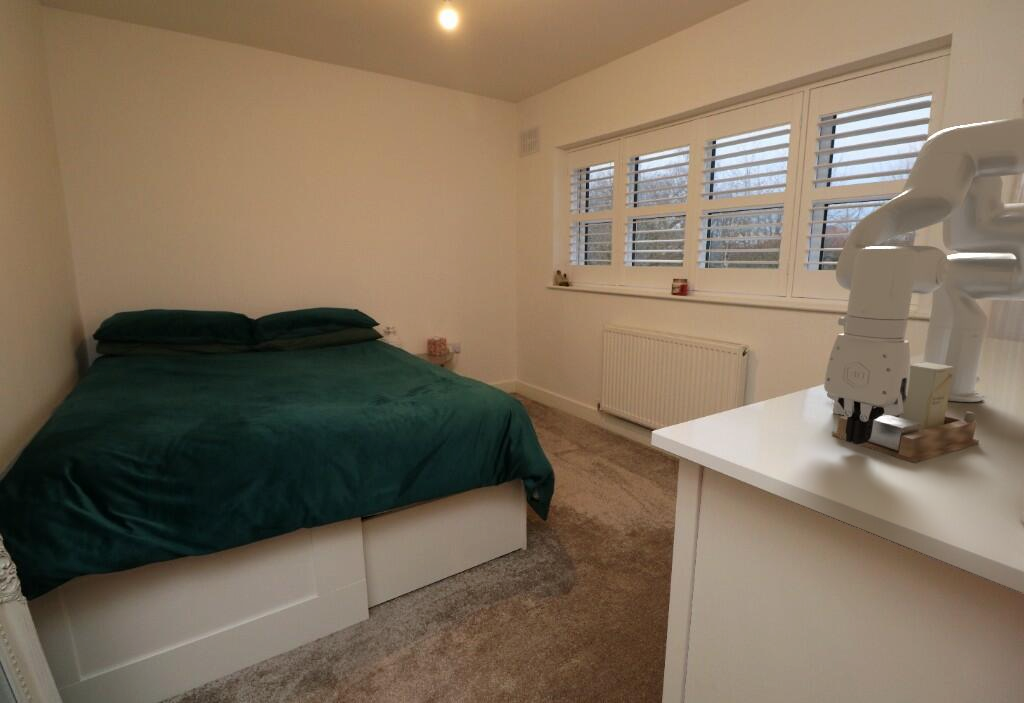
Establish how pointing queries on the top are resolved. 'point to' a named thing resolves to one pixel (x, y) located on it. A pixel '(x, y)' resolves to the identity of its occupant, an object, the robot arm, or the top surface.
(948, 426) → the holder
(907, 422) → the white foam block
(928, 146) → the robot arm
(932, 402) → the skincare box
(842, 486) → the top surface
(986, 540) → the top surface
